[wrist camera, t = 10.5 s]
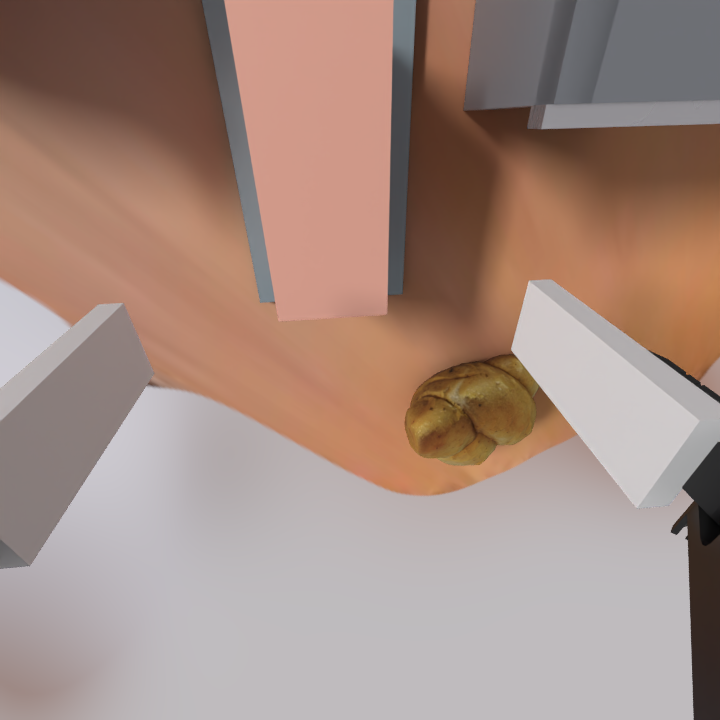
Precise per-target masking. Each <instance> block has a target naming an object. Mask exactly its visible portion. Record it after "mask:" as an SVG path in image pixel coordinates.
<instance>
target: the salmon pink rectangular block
mask: <svg viewBox="0 0 720 720" xmlns="http://www.w3.org/2000/svg"><path fill="white" fill-rule="evenodd" d="M224 2H225V8H226V14H227V20H228V26H229V32H230V38H231V44H232V49H233V55H234V61H235V67H236V73H237V79H238V85H239V91H240V97H241V103H242V109H243V115H244V120H245V126H246V132H247V138H248V144H249V150H250V156H251V162H252V168H253V174H254V180H255V185H256V191H257V197H258V203H259V209H260V215H261V221H262V227H263V233H264V239H265V245H266V251H267V256H268V262H269V268H270V274H271V280H272V286H273V292H274V298H275V304H276V310H277V316H278V321H295V320H311V319H327V318H343V317H359V316H375V315H387V298H388V248H389V199H390V150H391V101H392V52H393V3H394V0H224Z"/></svg>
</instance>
